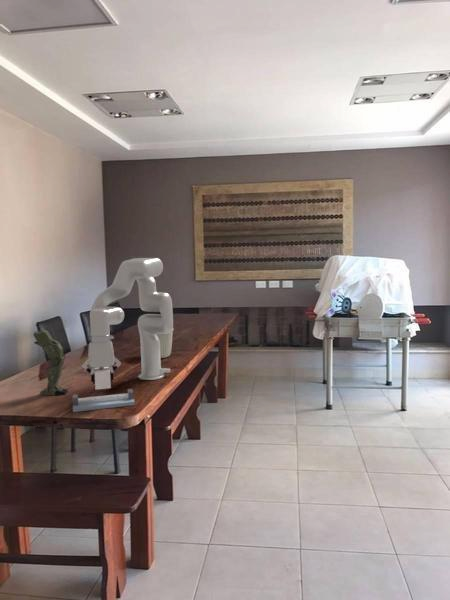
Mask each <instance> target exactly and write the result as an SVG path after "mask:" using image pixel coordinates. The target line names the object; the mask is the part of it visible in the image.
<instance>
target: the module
mask: <svg viewBox="0 0 450 600" xmlns="http://www.w3.org/2000/svg"><path fill="white" fill-rule="evenodd" d="M94 374H95V384H94V387H95V390H105V389H111V388H112V386H111V384H112V383H111V380H110V369H109V367H99V368H95V371H94Z"/></svg>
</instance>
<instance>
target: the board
mask: <svg viewBox="0 0 450 600" xmlns="http://www.w3.org/2000/svg"><path fill="white" fill-rule="evenodd" d="M135 402H136V401H135V398H134V399H124V400H115V401H106V402H97V403H87V404H78V405H74V406H73V405H72V412H73V413H75V412H84V411H85V412H86V411H94V410H101V409H113V408H120V407H122V408H123V407H129V406H135V405H136V403H135Z"/></svg>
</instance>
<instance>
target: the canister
mask: <svg viewBox="0 0 450 600" xmlns="http://www.w3.org/2000/svg"><path fill="white" fill-rule="evenodd" d="M174 330H175V329H174V328H173V329H172V331H171V332H170V333H169V334H156V335H157V337H158V338H159V341H160V359H166V358H168V357H170V355H171V354H172V347H173V346H172V345H173V333H174Z"/></svg>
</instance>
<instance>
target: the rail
mask: <svg viewBox="0 0 450 600" xmlns="http://www.w3.org/2000/svg"><path fill="white" fill-rule="evenodd" d="M134 394H135V393H134V389H133V388H128V389H127V393H116V394H108V395H99V396H98V395H97V396H88V397H87V396H86V397H79V395H78V394H72V407H73V406H74V405H78V404H87V403H97V402H106V401H115V400H124V399H134V400H135V397H134V396H135V395H134Z"/></svg>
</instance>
